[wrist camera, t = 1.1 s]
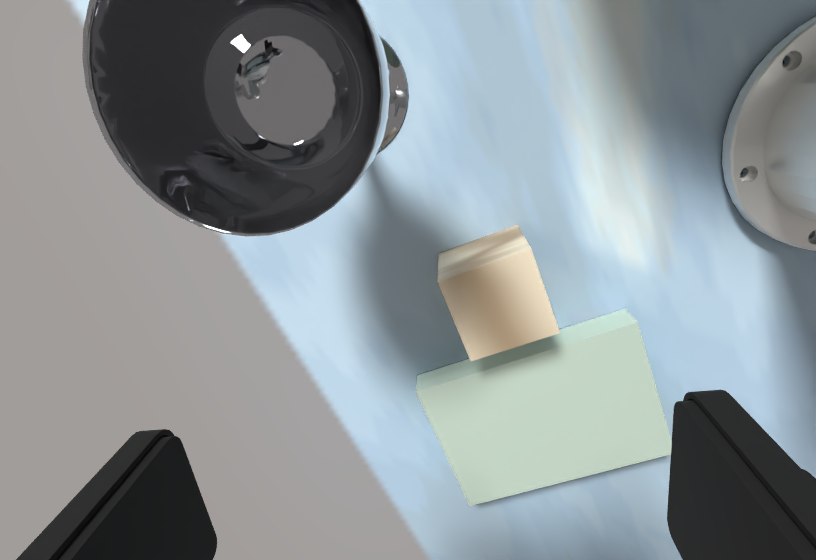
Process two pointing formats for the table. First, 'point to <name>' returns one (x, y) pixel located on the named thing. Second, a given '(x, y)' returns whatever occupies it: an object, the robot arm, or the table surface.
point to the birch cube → (495, 293)
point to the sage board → (548, 409)
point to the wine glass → (243, 104)
